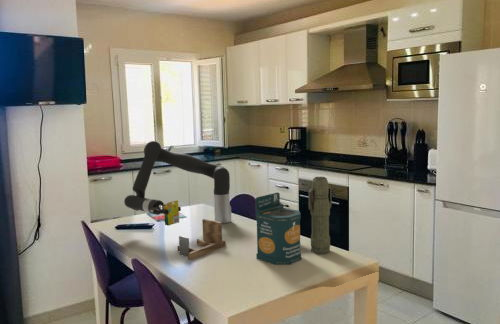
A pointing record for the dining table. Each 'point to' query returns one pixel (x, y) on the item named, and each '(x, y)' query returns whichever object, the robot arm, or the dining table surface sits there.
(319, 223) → the thermos
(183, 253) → the bookend
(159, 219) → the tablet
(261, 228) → the donation box
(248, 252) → the dining table surface
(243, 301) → the dining table surface
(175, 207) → the crayon box
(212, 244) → the rack
